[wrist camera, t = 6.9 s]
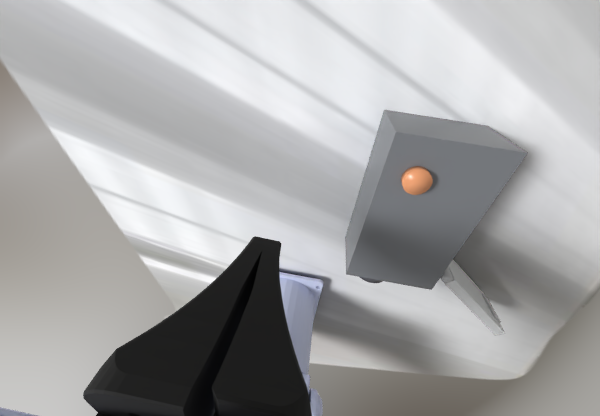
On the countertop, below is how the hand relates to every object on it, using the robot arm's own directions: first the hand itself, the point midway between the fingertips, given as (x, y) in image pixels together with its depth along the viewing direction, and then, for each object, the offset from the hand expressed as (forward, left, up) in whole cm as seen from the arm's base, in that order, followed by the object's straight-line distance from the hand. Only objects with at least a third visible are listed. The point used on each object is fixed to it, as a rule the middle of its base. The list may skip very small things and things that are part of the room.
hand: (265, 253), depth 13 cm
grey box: (-1, -9, -10) cm, 14 cm away
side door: (-5, -13, -10) cm, 17 cm away
